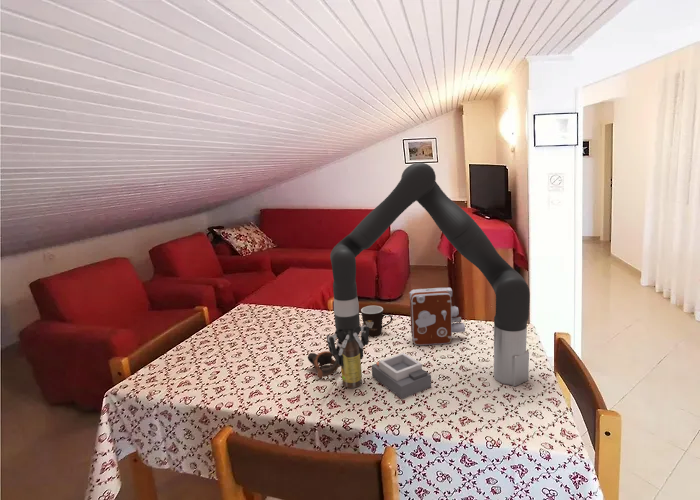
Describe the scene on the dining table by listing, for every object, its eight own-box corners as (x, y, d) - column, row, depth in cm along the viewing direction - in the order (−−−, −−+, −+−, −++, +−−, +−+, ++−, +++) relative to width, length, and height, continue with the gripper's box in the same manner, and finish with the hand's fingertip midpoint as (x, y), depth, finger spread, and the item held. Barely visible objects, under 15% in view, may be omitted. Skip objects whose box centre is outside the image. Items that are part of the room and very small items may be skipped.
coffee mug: (357, 334, 177) (356, 310, 175) (373, 327, 183) (371, 304, 180) (379, 342, 169) (377, 317, 166) (394, 334, 174) (393, 310, 172)
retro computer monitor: (431, 386, 136) (430, 367, 135) (401, 398, 131) (400, 378, 130) (400, 366, 150) (399, 348, 148) (372, 376, 145) (371, 357, 143)
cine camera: (467, 344, 162) (467, 292, 157) (413, 347, 162) (411, 295, 158) (461, 334, 171) (461, 283, 166) (410, 337, 171) (408, 287, 167)
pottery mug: (345, 366, 154) (344, 353, 148) (333, 390, 147) (332, 377, 142) (313, 354, 157) (312, 341, 151) (300, 377, 151) (298, 363, 145)
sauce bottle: (344, 378, 145) (339, 320, 140) (363, 378, 144) (359, 320, 139) (340, 389, 139) (335, 329, 134) (360, 389, 138) (356, 329, 133)
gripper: (331, 320, 129) (335, 373, 133) (373, 309, 136) (376, 359, 140) (319, 313, 135) (324, 363, 139) (360, 302, 142) (363, 350, 146)
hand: (350, 361), depth 139 cm, fingers closed on sauce bottle, 6 cm apart
